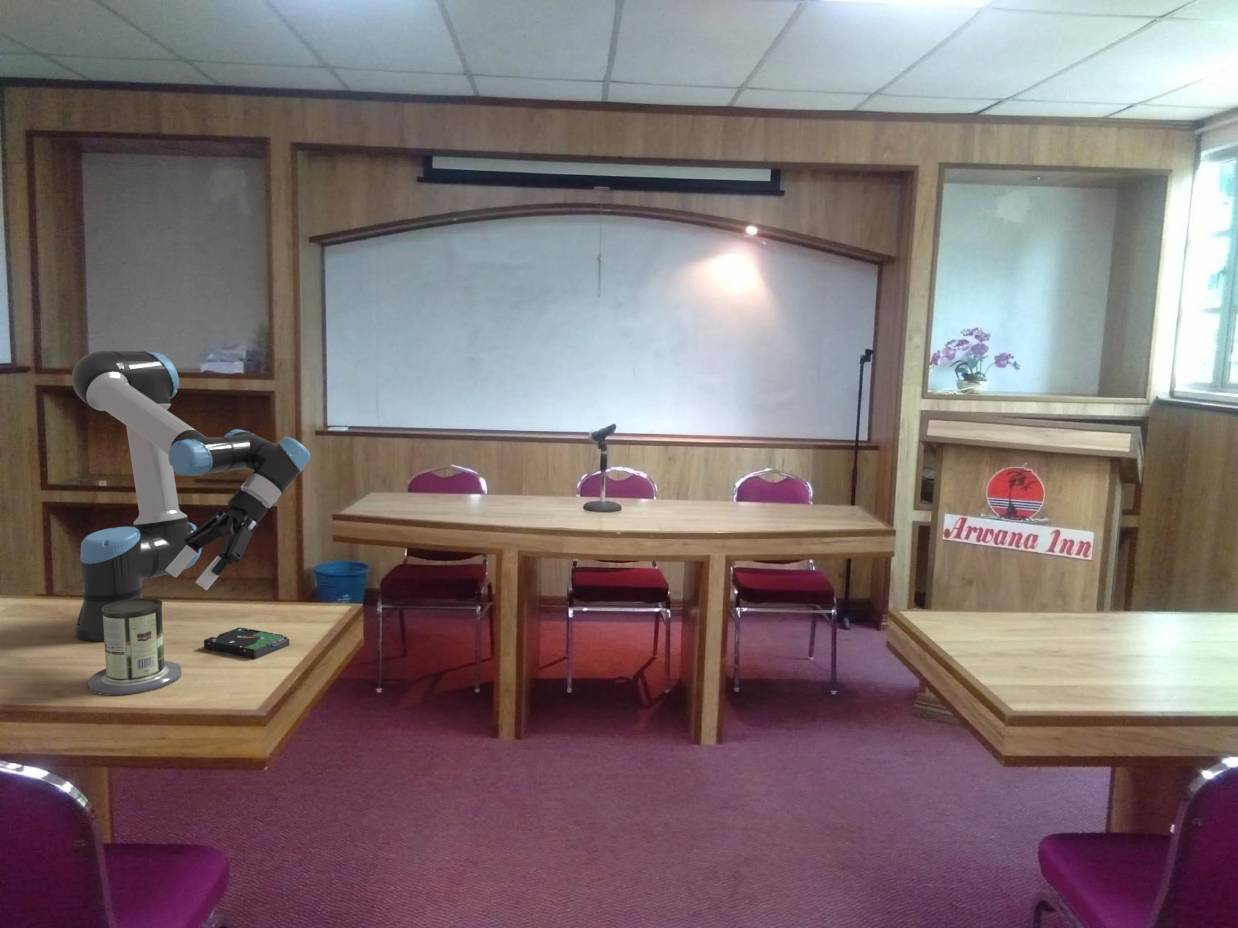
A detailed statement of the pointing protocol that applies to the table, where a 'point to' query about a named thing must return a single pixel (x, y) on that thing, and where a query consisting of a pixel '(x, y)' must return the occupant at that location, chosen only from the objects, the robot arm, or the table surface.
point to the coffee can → (133, 640)
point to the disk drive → (246, 643)
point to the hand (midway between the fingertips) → (185, 580)
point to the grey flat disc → (103, 686)
